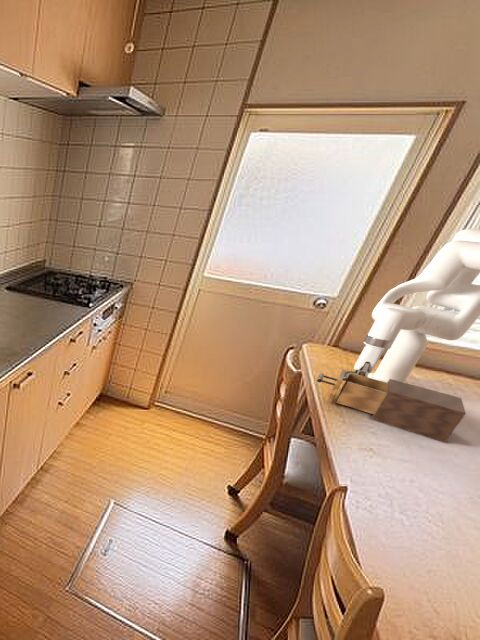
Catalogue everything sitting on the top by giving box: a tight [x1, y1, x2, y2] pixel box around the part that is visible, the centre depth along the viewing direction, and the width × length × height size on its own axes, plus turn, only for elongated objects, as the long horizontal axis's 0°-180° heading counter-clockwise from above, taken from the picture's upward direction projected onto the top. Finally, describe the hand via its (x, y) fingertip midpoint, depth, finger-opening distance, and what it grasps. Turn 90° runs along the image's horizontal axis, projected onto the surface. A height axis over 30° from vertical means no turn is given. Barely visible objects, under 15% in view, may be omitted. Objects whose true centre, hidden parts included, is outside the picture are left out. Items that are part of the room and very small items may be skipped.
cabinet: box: [371, 379, 467, 443], centre depth 139 cm, size 18×15×11 cm
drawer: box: [316, 368, 388, 415], centre depth 149 cm, size 22×14×9 cm, turn 46°
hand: (355, 383), depth 162 cm, fingers closed on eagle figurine, 8 cm apart
